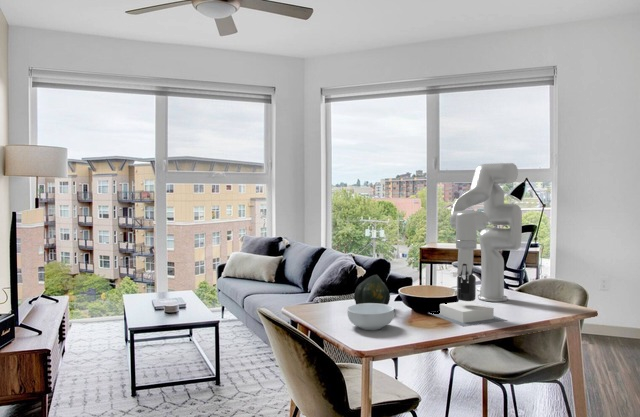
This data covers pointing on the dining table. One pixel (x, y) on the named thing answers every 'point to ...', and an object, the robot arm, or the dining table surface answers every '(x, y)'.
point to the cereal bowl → (370, 315)
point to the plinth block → (466, 311)
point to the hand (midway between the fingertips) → (466, 290)
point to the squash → (372, 291)
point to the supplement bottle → (472, 293)
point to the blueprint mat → (496, 319)
